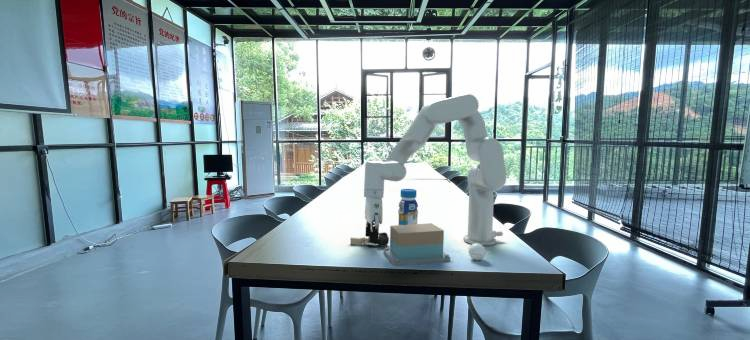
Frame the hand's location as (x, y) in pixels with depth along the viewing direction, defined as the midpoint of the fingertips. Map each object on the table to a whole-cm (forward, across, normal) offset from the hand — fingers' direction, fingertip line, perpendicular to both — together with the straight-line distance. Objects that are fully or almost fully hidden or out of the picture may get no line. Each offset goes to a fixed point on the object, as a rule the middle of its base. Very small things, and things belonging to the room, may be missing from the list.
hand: (371, 238), depth 125 cm
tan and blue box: (+2, -15, -13) cm, 20 cm away
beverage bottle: (+2, +10, -19) cm, 21 cm away
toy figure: (+3, +1, 0) cm, 3 cm away
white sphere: (+2, -23, -33) cm, 40 cm away
